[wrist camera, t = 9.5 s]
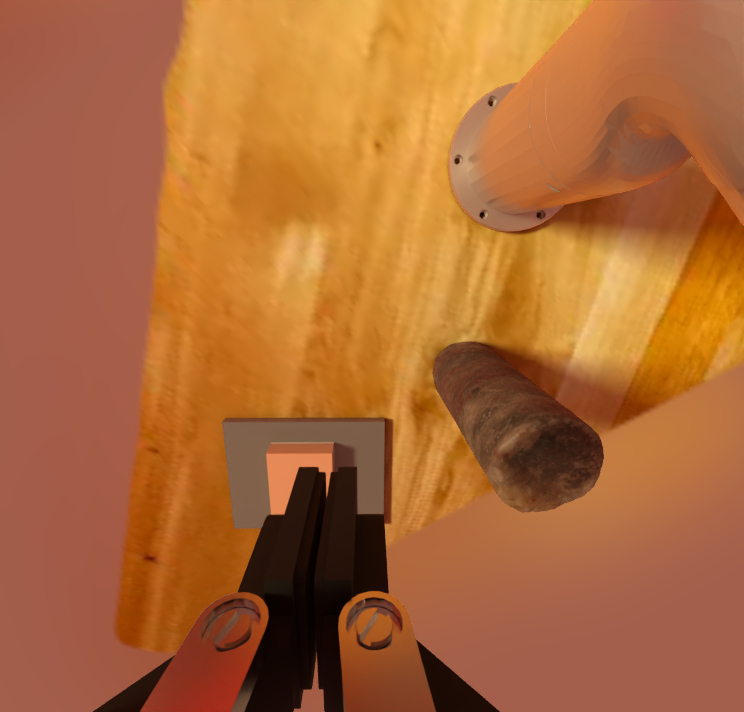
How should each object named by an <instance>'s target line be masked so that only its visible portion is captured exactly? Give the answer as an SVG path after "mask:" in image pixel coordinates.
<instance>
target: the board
mask: <svg viewBox="0 0 744 712" xmlns="http://www.w3.org/2000/svg"><path fill="white" fill-rule="evenodd" d="M222 424H223V433H224V441H225V450H226V459H227V468H228V477H229V486H230V495H231V504H232V513H233V522H234V528H262V526H263V523H264V521H265V518H266V516H267V515H271V508H270V495H269V483H268V470H267V458H266V453H267V451H268V449H269V447H270V445H271V443H272V442H334V465H335V472H338V467H357V504H358V514H384V444H385V419H384V418H225V419H224V421H223V422H222Z"/></svg>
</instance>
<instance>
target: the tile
mask: <svg viewBox="0 0 744 712" xmlns="http://www.w3.org/2000/svg"><path fill="white" fill-rule="evenodd" d="M266 458H267V470H268V483H269V495H270V508H271V515H273V514H285V510H286V507H287V504H288V501H289V497H290V494H291V491H292V488H293V485H294V481H295V478H296V475H297V472H298V469H299V467H318V468H319V472H325V473H326V493H328V487H329V481H330V474H331V472H335V465H334V442H272V443H271V445H270V447H269V449H268V451H267V453H266Z"/></svg>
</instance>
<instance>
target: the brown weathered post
mask: <svg viewBox="0 0 744 712" xmlns="http://www.w3.org/2000/svg"><path fill="white" fill-rule="evenodd" d="M433 378H434V384H435V386H436V389H437V391H438V393H439V395H440V396H441V398H442V400H443V401H444V403H445V405H446V406H447V408H448V410H449V411H450V413H451V415H452V416H453V418H454V420H455V422H456V423H457V425H458V427H459V428H460V430H461V432H462V434H463V435H464V437H465V439H466V441H467V443H468V445H469V446H470V448H471V450H472V451H473V453H474V455H475V457H476V458H477V460H478V462H479V464H480V466H481V467H482V469H483V470H484V472H485V474H486V476H487V478H488V480H489V481H490V483H491V485H492V486H493V488H494V489H495V491H496V493H497V495H498V496H499V497H500V498H501V500H502V501H504V502H505V503H506V504H507V505H509V506H511V507H513V508H515V509H517V510H518V511H520V512H531V511H534V512H539V511H547V510H550V509H555V508H557V507H558V506H560V505H562V504H564V503H567V502H570V501H573V500H575V499H577V498H580V497H582V496H584V495H585V494H586V493H587V492H588V491H590V490H591V489H592V488H593V487H594V485H595V483H596V481H597V479H598V477H599V475H600V470H601V467H602V463H603V459H604V455H603V447H602V443H601V440H600V437H599V436H598V434H597V433H596V432H595V431H594V430H593V429H592V428H591V427H590V426H589V425H587V424H586V423H585V422H583V421H582V420H581V419H580V418H578V417H577V416H576V415H574V414H573V413H572V412H571V411H569V410H568V409H567V408H565V407H564V406H563V405H561V404H560V403H559V402H557V401H556V400H555V399H553V398H552V397H551V396H549V395H548V394H547V393H546V392H545V391H543V390H542V389H540V388H539V387H538V386H537V385H535V384H534V383H533V382H532V381H530V380H529V379H528V378H527V377H525V376H524V375H523V374H521V373H520V372H519V371H518V370H517V369H516V368H514V367H513V366H512V365H511V364H509V363H508V362H507V361H506V360H505V359H503V358H502V357H501V356H499V355H498V354H497V353H495V352H494V351H493V350H491V349H490V348H488V347H487V346H485V345H482V344H480V343H476V342H461V343H455V344H452V345H449V346H448V347H446V348H445V349H444V350H443V351H442V352H441V353H440V354H439V356H438V358H437V360H436V362H435V364H434V368H433Z"/></svg>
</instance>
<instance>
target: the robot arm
mask: <svg viewBox="0 0 744 712" xmlns="http://www.w3.org/2000/svg"><path fill="white" fill-rule="evenodd" d="M488 102H491V103H492V106H489V105H488ZM691 156H692V157H693V158H694V159H695V161H696V162H697V163H698V165H699V166H700V168H701V169H702V170H703V172H704V173H705V175H706V176H707V178H708V179H709V181H710V182H711V183H712V184H713V185H715V186H716V187H717V189H718V190H719V192H720V193H721V195H722V196H723V198H724V199H725V200H726V202H727V203H728V205H729V206H730V208H731V209H732V211H733V212H734V214H735V215H736V216H737V218H738V219H739V221H740V222H741V224H742V225H743V227H744V0H593V1H592V2H591V3H590V4H589V6H588V7H587V8H586V9H585V10H584V11H583V13H582V14H581V15H580V16H579V17H578V18H577V19H576V20H575V22H574V23H573V24H572V25H571V26H570V27H569V28H568V29H567V30H566V31H565V32H564V34H563V35H562V36H561V37H560V38H559V39H558V40H557V41H556V43H555V44H554V45H553V46H552V47H551V48H550V49H549V50H548V51H547V52H546V53H545V55H544V56H543V57H542V58H541V59H540V60H539V61H538V62H537V63H536V64H535V65H534V66H533V67H532V69H531V70H530V71H529V72H528V73H527V74H526V75H525V76H524V77H523V78H522V79H521V80H520V81H519V83H511V84H508V85H504V86H501V87H498V88H496V89H495V90H493V91H491V92H489V93H487V94H486V95H484V96H483V97H482V98H481V99H480V100H478V101H477V102H476V103H475V104H474V105H473V106H472V107H471V108H470V110H469V111H468V112H467V113H466V115H465V116H464V117H463V119H462V120H461V122H460V123H459V125H458V127H457V129H456V132H455V134H454V136H453V138H452V142H451V146H450V150H449V157H448V175H449V181H450V185H451V189H452V192H453V194H454V196H455V198H456V200H457V203H458V204H459V205H460V207H461V208H462V209H463V211H464V212H465V213H466V214H467V215H468V216H469V217H470V218H471V219H472V220H474V221H475V222H477V223H479V224H480V225H482V226H484V227H486V228H489V229H493V230H496V231H505V232H511V231H520V230H525V229H530V228H532V227H535V226H537V225H540V224H542V223H543V222H545V221H546V220H548V219H550V218H551V217H553V216H554V215H555V214H556V213H557V212H558V211H559V210H560V209H561V208H562V207H563V206H564V205H566V204H571V203H576V202H580V201H585V200H590V199H595V198H600V197H605V196H609V195H614V194H618V193H622V192H627V191H631V190H635V189H638V188H641V187H644V186H646V185H649V184H651V183H653V182H655V181H657V180H659V179H661V178H663V177H665V176H666V175H668V174H670V173H671V172H673V171H674V170H676V169H677V168H678V167H680V166H681V165H682V164H683V163H684V162H686V161H687V160H688V159H689V158H690V157H691ZM455 159H458V160H459V163H458V164H455V163H454V160H455ZM481 212H482V213H483V214H484V216H483V218H481V217H480V213H481ZM537 213H539V217H538V218H537V216H536V214H537ZM387 576H388V575H387V559H386V543H385V526H384V514H358V504H357V467H338V472H331V474H330V481H329V487H328V493H326V473H325V472H319V468H318V467H299V469H298V472H297V475H296V478H295V481H294V485H293V488H292V491H291V494H290V497H289V501H288V504H287V507H286V510H285V514H273V515H267V516H266V518H265V521H264V523H263V526H262V529H261V531H260V534H259V537H258V539H257V542H256V545H255V547H254V550H253V553H252V555H251V558H250V561H249V563H248V566H247V569H246V571H245V574H244V577H243V579H242V582H241V585H240V587H239V590H238V592H237V593H233V594H229V595H226V596H224V597H222V598H220V599H218V600H216V601H214V602H213V603H212V604H211V605H209V606H208V607H207V608H206V609H205V610H204V611H203V612H202V614H201V615H200V616H199V617H198V619H197V620H196V622H195V623H194V625H193V627H192V628H191V630H190V631H189V633H188V635H187V636H186V638H185V640H184V641H183V643H182V644H181V646H180V648H179V649H178V651H177V653H176V654H175V655H174V656H173V657H172V658H170V659H169V660H167V661H166V662H164V663H163V664H162V665H160V666H158V667H157V668H156V669H154V670H153V671H151V672H150V673H148V674H147V675H145V676H144V677H142V678H141V679H140V680H138V681H137V682H135V683H134V684H132V685H131V686H129V687H128V688H127V689H126V690H124V691H122V692H121V693H119V694H118V695H117V696H115V697H114V698H112V699H111V700H109V701H108V702H106V703H105V704H104V705H102V706H101V707H99V708H98V709H96V710H95V711H93V712H293V711H294V709H296V708H297V709H299V708H301V701H302V693H303V690H305V689H312V684H313V677H314V669H315V661H316V653H317V663H318V683H319V689H323V690H324V711H325V712H499V711H498V710H497V709H496V708H495V707H494V706H493V705H491V704H490V703H489V702H488V701H487V700H485V698H483V697H482V696H481V695H480V694H479V693H478V692H476V691H475V690H474V689H473V688H471V687H470V686H469V685H468V684H467V683H466V682H465V681H463V680H462V679H461V678H460V677H459V676H458V675H457V674H455V673H454V672H453V671H452V670H451V669H450V668H449V667H447V666H446V665H445V664H444V663H443V662H441V661H440V660H439V659H438V658H437V657H436V656H435V655H433V654H432V653H431V652H430V651H429V650H427V649H426V648H425V647H424V646H423V645H422V644H421V643H420V642H418V641H417V640H416V638H415V634H414V631H413V628H412V624H411V621H410V617H409V614H408V612H407V610H406V608H405V606H404V605H403V604H402V603H401V602H400V601H399V600H398V599H397V598H395V597H393V596H392V595H390V594H389V592H388V577H387Z"/></svg>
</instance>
